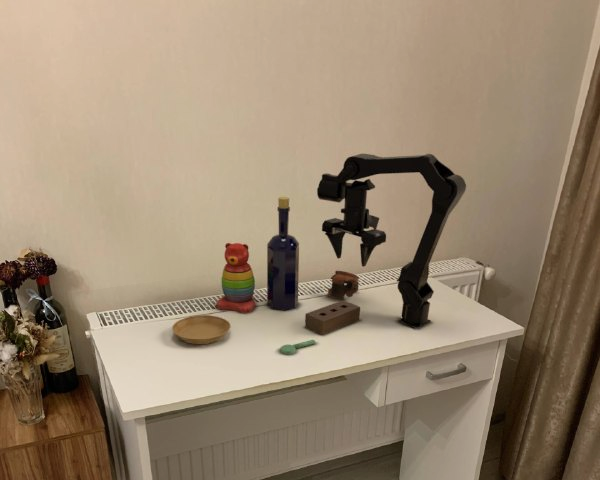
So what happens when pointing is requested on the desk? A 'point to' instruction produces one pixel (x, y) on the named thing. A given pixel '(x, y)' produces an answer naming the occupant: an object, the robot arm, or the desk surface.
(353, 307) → the holder
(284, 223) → the bottle
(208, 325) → the plant saucer
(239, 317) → the desk surface
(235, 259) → the stacking bear
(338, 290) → the pottery mug
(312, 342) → the spoon
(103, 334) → the desk surface
